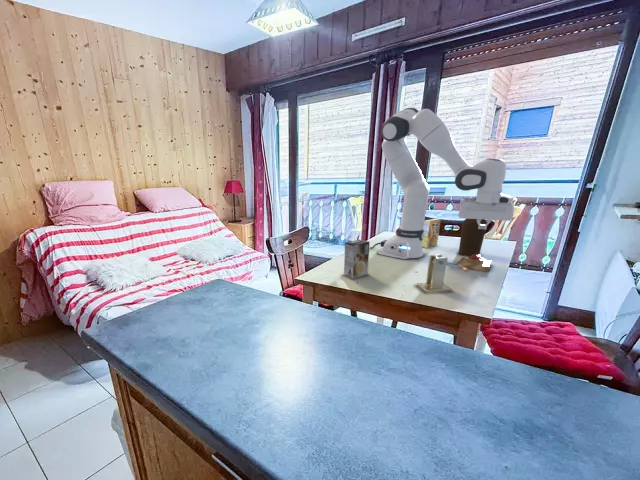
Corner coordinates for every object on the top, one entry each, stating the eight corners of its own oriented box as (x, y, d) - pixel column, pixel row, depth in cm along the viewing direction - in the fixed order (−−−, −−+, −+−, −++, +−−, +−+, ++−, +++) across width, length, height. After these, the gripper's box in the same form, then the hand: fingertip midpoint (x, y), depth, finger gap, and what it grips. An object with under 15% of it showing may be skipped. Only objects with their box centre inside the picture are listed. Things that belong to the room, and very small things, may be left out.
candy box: (430, 244, 193) (434, 218, 187) (437, 245, 189) (441, 219, 183) (420, 246, 189) (424, 220, 183) (426, 248, 186) (430, 221, 180)
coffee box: (357, 271, 157) (360, 239, 151) (367, 275, 152) (370, 241, 145) (343, 275, 153) (344, 242, 147) (352, 279, 148) (354, 245, 142)
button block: (457, 267, 154) (459, 259, 153) (461, 261, 161) (462, 253, 160) (487, 271, 147) (489, 263, 146) (490, 265, 154) (492, 257, 153)
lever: (458, 269, 133) (461, 263, 132) (466, 273, 128) (470, 268, 127) (429, 260, 131) (432, 255, 131) (436, 264, 126) (439, 259, 125)
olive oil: (468, 258, 166) (478, 208, 156) (452, 252, 175) (460, 205, 166) (485, 255, 168) (496, 206, 158) (469, 250, 177) (478, 203, 168)
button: (470, 259, 153) (471, 255, 152) (471, 257, 155) (472, 253, 155) (479, 260, 151) (480, 256, 150) (480, 258, 153) (481, 255, 153)
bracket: (440, 284, 137) (446, 252, 131) (451, 291, 129) (457, 258, 124) (416, 285, 137) (421, 254, 132) (425, 293, 130) (430, 260, 124)
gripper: (459, 198, 147) (454, 228, 152) (516, 199, 134) (509, 232, 139) (462, 196, 151) (457, 226, 156) (517, 197, 138) (510, 229, 144)
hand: (482, 229), depth 148 cm, fingers closed
